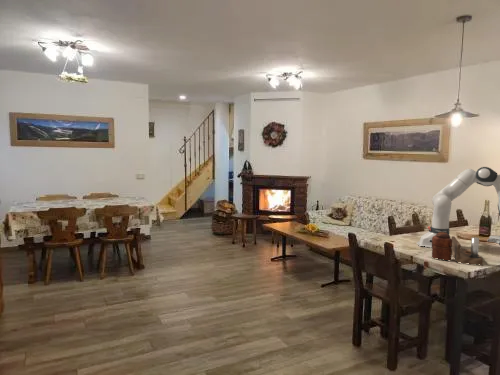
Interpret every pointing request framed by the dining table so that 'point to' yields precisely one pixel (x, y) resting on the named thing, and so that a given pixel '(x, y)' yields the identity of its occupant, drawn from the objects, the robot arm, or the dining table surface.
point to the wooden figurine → (442, 246)
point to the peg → (474, 247)
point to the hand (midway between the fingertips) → (493, 242)
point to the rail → (463, 254)
